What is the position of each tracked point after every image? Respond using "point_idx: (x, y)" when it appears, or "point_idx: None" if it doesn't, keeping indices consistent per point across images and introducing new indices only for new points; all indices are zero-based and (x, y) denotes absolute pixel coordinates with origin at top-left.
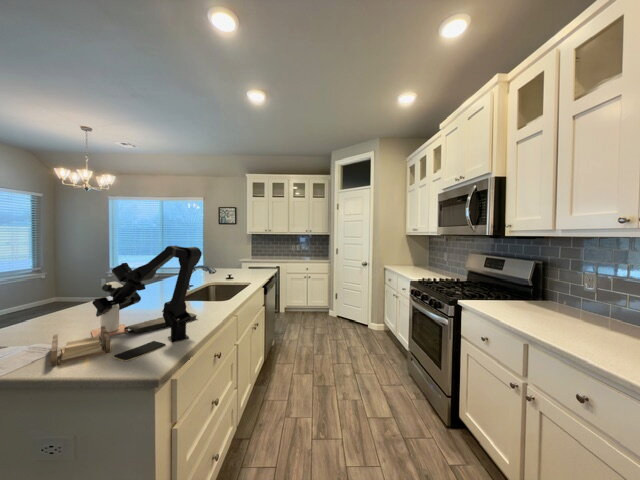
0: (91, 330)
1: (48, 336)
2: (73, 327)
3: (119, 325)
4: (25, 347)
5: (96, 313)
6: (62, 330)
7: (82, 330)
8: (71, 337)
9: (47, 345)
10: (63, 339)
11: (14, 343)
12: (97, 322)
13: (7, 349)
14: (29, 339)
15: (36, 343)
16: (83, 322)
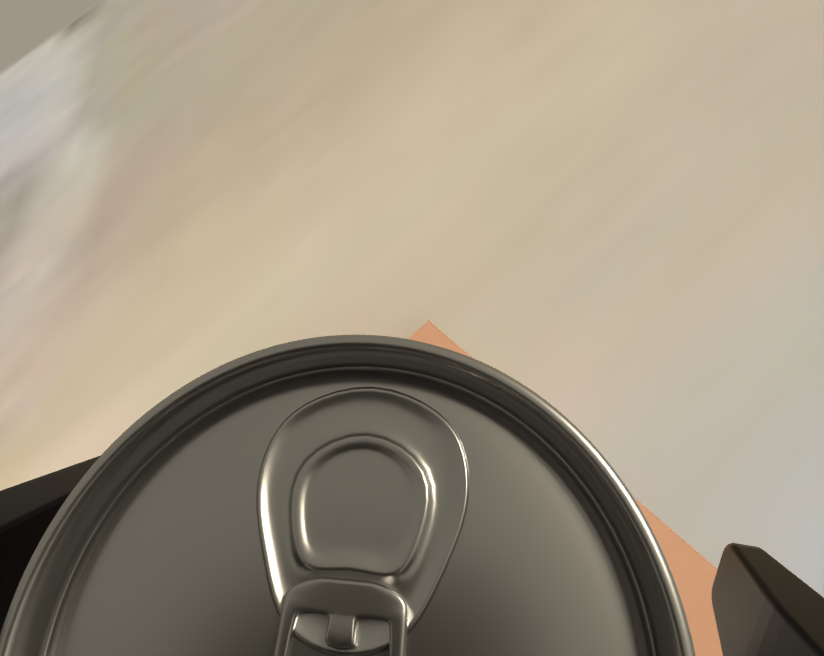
0: (414, 337)
1: (281, 78)
2: (531, 64)
3: (674, 572)
4: (34, 137)
5: (54, 481)
6: (438, 51)
7: (455, 211)
8: (239, 283)
9: (41, 256)
10: (186, 258)
11: (144, 6)
12: (737, 142)
13: (21, 66)
14: (220, 19)
15: (115, 134)
16: (691, 25)
